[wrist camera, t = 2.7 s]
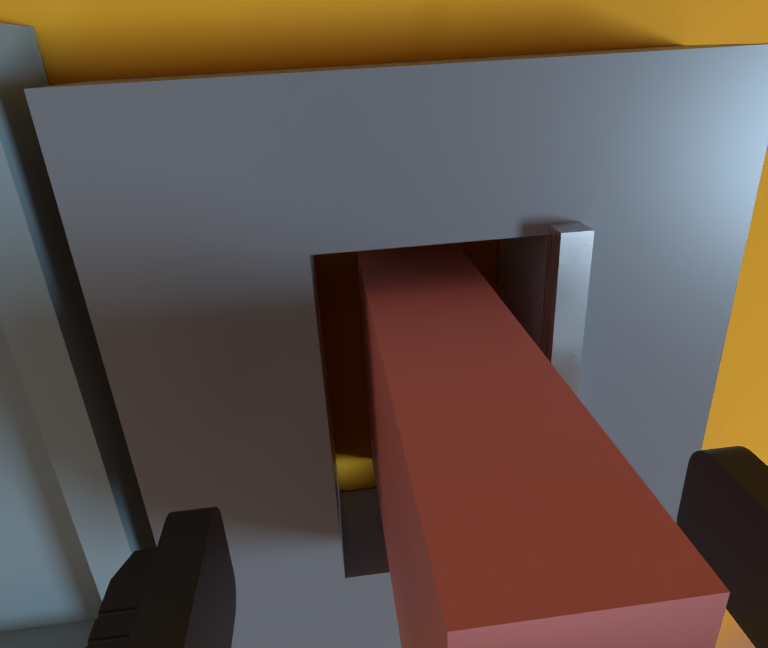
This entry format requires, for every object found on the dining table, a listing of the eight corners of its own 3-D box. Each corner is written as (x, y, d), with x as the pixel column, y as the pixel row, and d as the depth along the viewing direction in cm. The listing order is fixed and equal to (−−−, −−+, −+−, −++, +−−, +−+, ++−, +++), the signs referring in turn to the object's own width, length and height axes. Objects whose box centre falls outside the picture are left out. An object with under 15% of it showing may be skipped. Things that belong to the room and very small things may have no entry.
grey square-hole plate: (686, 45, 13) (817, 42, 9) (612, 535, 19) (677, 637, 15) (90, 80, 12) (5, 90, 8) (214, 586, 18) (192, 708, 14)
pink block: (457, 243, 14) (730, 592, 5) (457, 449, 16) (636, 929, 7) (356, 251, 14) (447, 631, 5) (372, 459, 16) (450, 963, 7)
